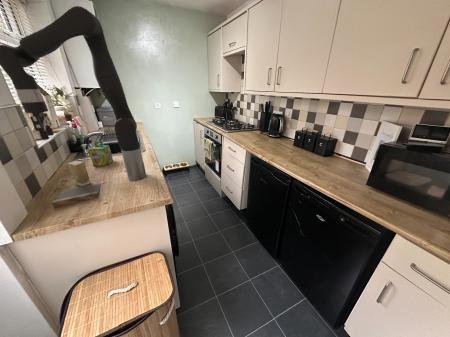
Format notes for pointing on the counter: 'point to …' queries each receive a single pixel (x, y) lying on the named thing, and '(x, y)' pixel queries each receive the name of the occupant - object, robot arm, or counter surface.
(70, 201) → the rail
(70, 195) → the mat
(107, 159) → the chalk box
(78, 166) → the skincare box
